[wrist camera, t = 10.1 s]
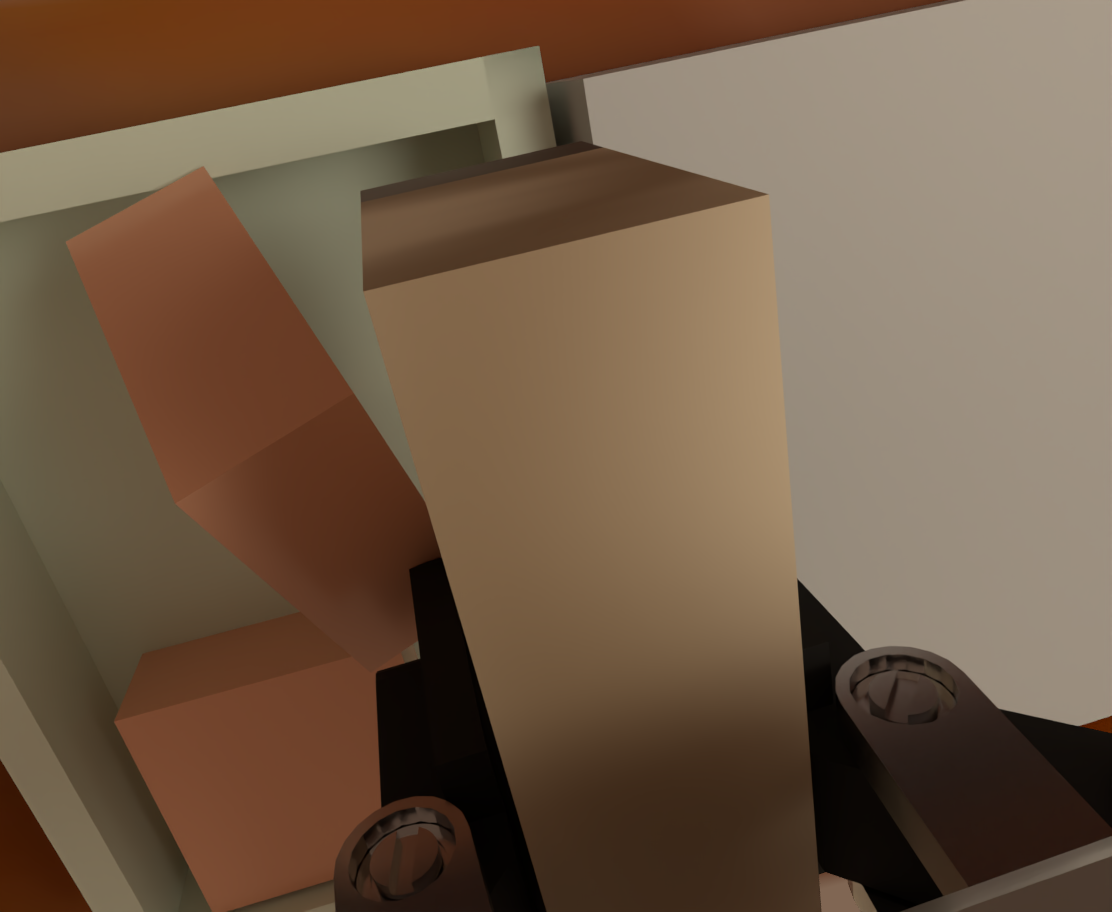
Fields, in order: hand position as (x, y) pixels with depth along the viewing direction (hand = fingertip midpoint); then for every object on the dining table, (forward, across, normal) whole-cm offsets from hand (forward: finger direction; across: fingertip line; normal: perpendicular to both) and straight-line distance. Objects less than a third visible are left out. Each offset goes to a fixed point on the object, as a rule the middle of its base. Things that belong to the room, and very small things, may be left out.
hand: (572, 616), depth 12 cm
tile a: (+3, +5, +4) cm, 7 cm away
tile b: (+2, +2, -4) cm, 4 cm away
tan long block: (0, 0, 0) cm, 0 cm away
